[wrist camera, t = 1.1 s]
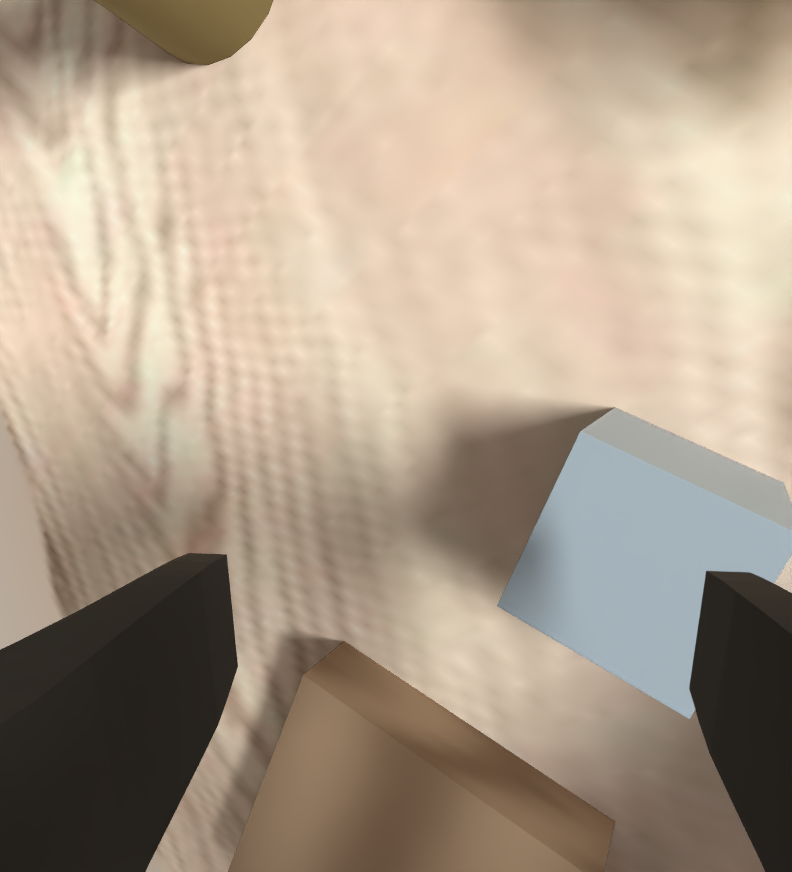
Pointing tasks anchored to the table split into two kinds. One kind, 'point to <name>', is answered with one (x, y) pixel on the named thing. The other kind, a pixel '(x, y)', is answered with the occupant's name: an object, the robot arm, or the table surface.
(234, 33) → the olive pawn
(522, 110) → the table surface
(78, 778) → the robot arm
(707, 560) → the slate block
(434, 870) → the walnut block
